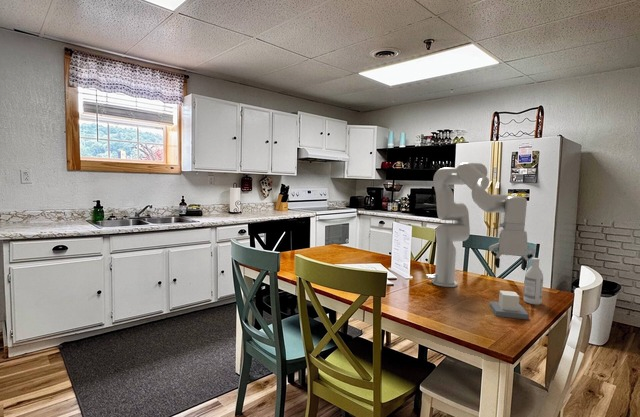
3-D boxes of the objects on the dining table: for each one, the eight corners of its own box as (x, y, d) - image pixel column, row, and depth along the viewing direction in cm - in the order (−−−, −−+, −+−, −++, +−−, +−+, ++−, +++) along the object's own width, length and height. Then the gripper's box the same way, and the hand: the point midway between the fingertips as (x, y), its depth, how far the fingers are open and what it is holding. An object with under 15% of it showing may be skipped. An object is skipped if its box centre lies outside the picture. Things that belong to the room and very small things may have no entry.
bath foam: (535, 299, 164) (538, 256, 162) (544, 305, 157) (548, 260, 155) (520, 299, 164) (523, 256, 162) (528, 304, 157) (532, 260, 155)
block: (502, 309, 145) (503, 294, 145) (498, 304, 151) (499, 290, 151) (518, 310, 144) (519, 296, 143) (514, 305, 150) (515, 291, 149)
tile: (495, 315, 143) (495, 311, 143) (489, 305, 155) (489, 301, 155) (528, 319, 140) (529, 314, 140) (519, 308, 152) (520, 304, 152)
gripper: (492, 227, 143) (489, 268, 145) (541, 230, 139) (536, 272, 141) (488, 224, 150) (485, 264, 152) (534, 227, 146) (530, 268, 148)
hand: (510, 268), depth 146 cm, fingers open, 9 cm apart
